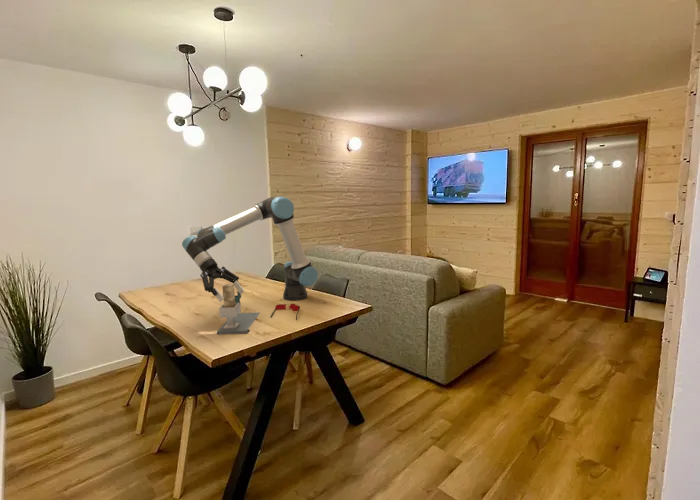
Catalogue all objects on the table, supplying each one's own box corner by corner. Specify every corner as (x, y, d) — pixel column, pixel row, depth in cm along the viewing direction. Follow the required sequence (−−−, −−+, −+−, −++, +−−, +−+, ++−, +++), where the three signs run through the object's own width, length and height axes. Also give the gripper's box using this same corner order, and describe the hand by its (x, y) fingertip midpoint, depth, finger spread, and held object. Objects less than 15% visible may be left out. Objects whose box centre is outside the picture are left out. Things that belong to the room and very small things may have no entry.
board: (260, 315, 192) (260, 312, 192) (247, 333, 166) (247, 330, 166) (234, 316, 192) (234, 313, 191) (217, 334, 166) (216, 331, 166)
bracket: (242, 306, 210) (241, 291, 209) (226, 308, 205) (225, 293, 204) (238, 302, 217) (237, 288, 216) (223, 305, 213) (221, 290, 212)
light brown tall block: (236, 311, 172) (233, 283, 170) (233, 314, 168) (230, 285, 166) (227, 312, 172) (225, 283, 170) (224, 314, 168) (222, 285, 166)
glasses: (300, 311, 197) (300, 302, 196) (297, 321, 181) (296, 312, 180) (275, 312, 197) (274, 303, 196) (269, 322, 181) (268, 313, 180)
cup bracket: (241, 323, 175) (240, 302, 173) (237, 329, 167) (235, 307, 166) (226, 324, 175) (224, 303, 173) (220, 329, 167) (218, 307, 166)
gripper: (221, 263, 185) (246, 294, 181) (181, 273, 162) (208, 308, 158) (228, 253, 182) (254, 284, 178) (188, 262, 159) (216, 298, 155)
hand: (232, 296), depth 168 cm, fingers open, 13 cm apart
